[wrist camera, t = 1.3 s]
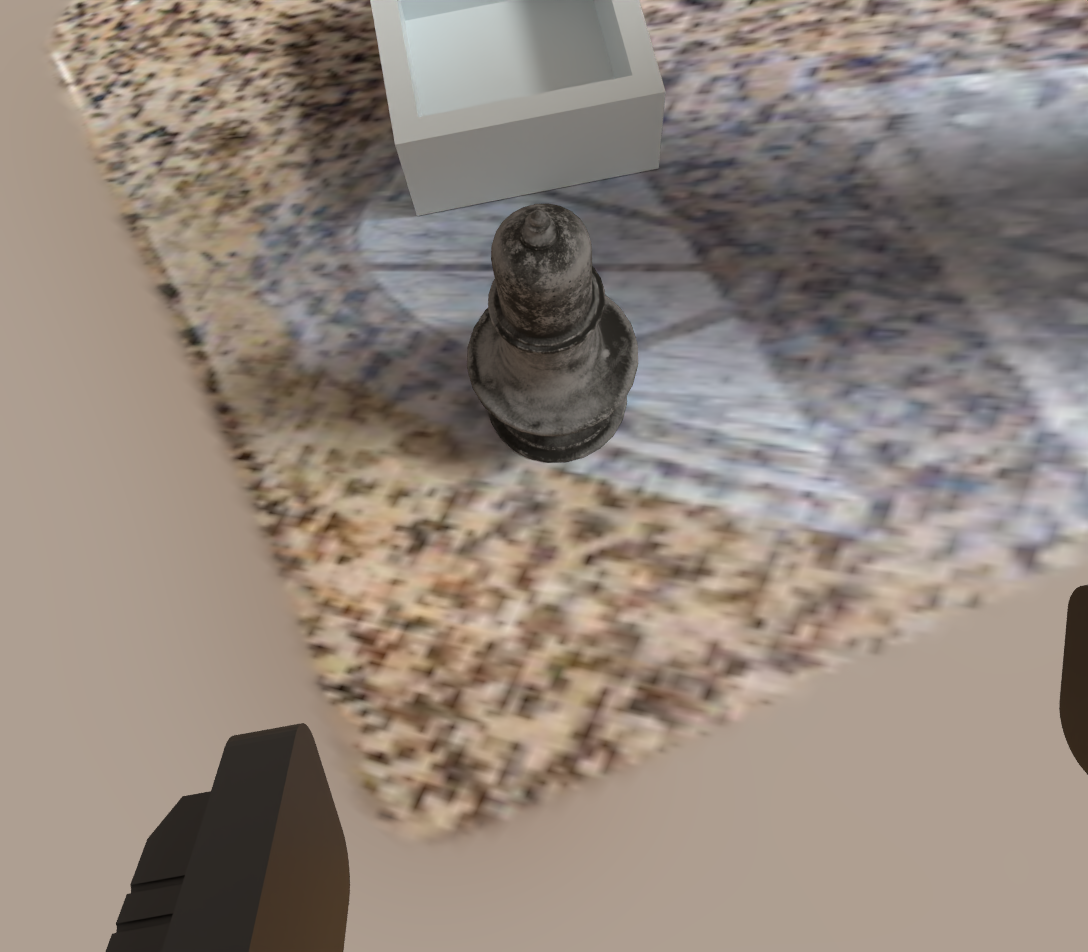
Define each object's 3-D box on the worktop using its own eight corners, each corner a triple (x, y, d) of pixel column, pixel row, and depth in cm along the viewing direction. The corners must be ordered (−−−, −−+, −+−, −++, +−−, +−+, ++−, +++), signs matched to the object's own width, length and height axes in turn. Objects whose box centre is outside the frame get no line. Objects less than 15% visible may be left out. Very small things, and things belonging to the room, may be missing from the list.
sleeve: (606, -19, 43) (607, -110, 39) (658, 168, 40) (665, 91, 36) (383, 24, 43) (359, -62, 39) (416, 216, 40) (394, 144, 36)
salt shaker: (447, 412, 37) (379, 235, 26) (542, 299, 38) (517, 83, 27) (572, 501, 36) (558, 354, 24) (666, 380, 37) (695, 189, 26)
